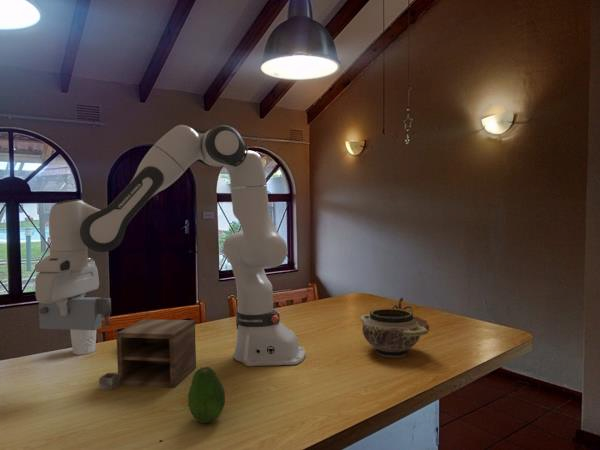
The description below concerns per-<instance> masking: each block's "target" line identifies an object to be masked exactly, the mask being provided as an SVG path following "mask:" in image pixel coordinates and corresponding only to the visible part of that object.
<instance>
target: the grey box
mask: <svg viewBox="0 0 600 450" xmlns="http://www.w3.org/2000/svg"><path fill="white" fill-rule="evenodd" d="M111 299H112V298H111V297H103V298H101V297H100V296H99V297H97V296H93V297H92V296H89V297H88V296H84V297H74V296H73V297H70V298H67V302H66V305H67V307H68V308H70V314H69V315H66V316H61V314H60V308H59V307H58V305H57V303H56V302H53V303H39V302H38V314H39V315H38V316H39V317H38V318H39V329H42V330H43V329H45V330H46V329H48V330H96V331H97V330H99V329H101V328H102V327H103V326H102V325H103V323H102V322H103V321H102V316H104V319H103V320H104V327H107V326H110V315H112V300H111Z"/></svg>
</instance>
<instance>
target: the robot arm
mask: <svg viewBox="0 0 600 450" xmlns="http://www.w3.org/2000/svg"><path fill="white" fill-rule="evenodd" d="M196 161H197V162H199V163H201V164H203V165H205V166H207V167H210V168H219V167H220V168H221V167H224V168H225V169H226V170H227V172H228V175H229V178H230V195H231V205H232V213H233V215H234V217H235V218H236V219H237V221H238V222H239V224H240V225H239V226H240V228H241V230H240V231H236V232H235V233H231V234H230V235H228V236H227V237H226V238H225V240H224V242H223V253H224V256H225V257H226V259H227V260H228V262H229V263H230V267H231V269H232V272H233V273H232V274H233V276H234V282H235V285H236V299H237V301H236V302H237V311H236V315H235V325H236V331H237V333H236V343H235V349H234V352H233V356H232V357H233V359H235V360H236V361H237V362H240V363H242V364H243V365H244V366H247V367H253V366H254V367H256V366H263V367H264V366H284V365H287V366H288V365H290V366H291V365H297V364H300V363H301V362H303V360H305V357H306V349H305V348H304V347H302V346H299V341H298V337H297V335H296V333H295V332H294V331H293V330H291V329H290V328H288V326H285V324H283V323H282V322H280V321H281V320H280V319H281V317H280V316H281V312H280V311H279V310H278V311H276V310H275V309H274V296H273V295H274V292H273V291H274V290H273V289H274V288H273V284H272V283H271V281H270V279H269V278H268V277H267V274H266V271H265V269H272V268H277V267H280V266H281V265H282V264H283V263H284V261H285V260H286V258H287V256H288V246H287V242H286V241H285V239H284V238H283V237H282V236H281V235H280V234H279V232H278V231H277V229H276V227H275V224H274V222H273V218H272V215H271V211H270V207H269V206H270V205H269V197H268V196H269V195H268V186H267V175H266V170H265V166H264V162H263V159H262V156H261V155H260V154H259V153H258V152H256V151H254V150H251V149H250V150H249V149H248V146H247V144H245V142H244V139H243V138H242V136H241V134H240V133H239V132H238V130H236V129H235V128H234V127H231V126H229V125H224V124H223V125H222V124H221V125H217V126H215V127H213V128H211V129H209V130H208V131H205V133H199V132H197V131H196V130H195V129H193V128H192V127H190V126H188V125H185V124H178V125H176V126H174V127H173V128H172V129H170V130H169V131H168V132H166V133H165V134H164V135H163V136H161V137H160V139H158V140H157V141H156V142H155V143H154V145H153V146H152V147H150V149H149V150H148V151H147V153H146V154H145V155H144V157H143V158H142V160H141V161H140V163H139V165H138V167H137V169H136V171H135V174H134V176H133V178H132V179H131V181H130V182H129V184H128V185H127V186H126V187H125V188H124V189H123V190H122V191H121V192H120V193H119V194H118V195H117V196H116V197H115V199H113V201H112V202H110V203H109V205H107V206H106V207H104V208H103V209H99V208H97V207H95V206H93V205H90V204H88V203H87V202H85V201H84V200H82V199H69V200H63V201H62V200H61V201H59V202H56V203H55V204H53V206H51V208H50V211H49V219H48V235H49V238H50V248H49V255H47V256H46V257H45V258H43V259H42V260H40V261H38V262H37V263H36V264H35V265H34V270H35V273H37V275H36V277H35V280H34V281H35V282H34V283H35V284H34V286H35V287H34V289H35V290H34V292H35V299H36V300H37V302H38V304H39V303H53V302H56V303H57V305H58V307H59V308H60V314H61V316H66V315H69V314H70V308H68V307H67V305H66V302H67V298H70V297H85V294H86V293H89V292H92V291H95V290H98V289H99V286H100V280H99V279H100V278H99V271H98V267H97V265H96V261H95V260H94V259H93V258H92V257H89V254H88V252H89V251H88V250H89V249H90V250H92V251H93V252H97V253H107V252H110V251H113V250H115V249H116V248H117V247H119V246H120V245H121V244H122V241H123V239H124V238H125V233H126V230H127V227H128V226H129V223H130V222H131V221H132V219H133V218H134V217H135V216H136V215H137V214H138V212H140V210H141V209H142V208H143V207H144V206H145V204H146V203H147V202H148V201H149V200H150V199H151V198H153V197H154V196H155V195H156V194H158V193H160V192H161V191H164V190H165V189H167V188H168V187H170V186H172V185H173V184H174V183H175V182H176V181H177V180H178V179H180V178H181V176H182V175H183V174H184V173H185V172H186V171H187V169H188V168H190V166H191V165H192V164H194V162H196Z"/></svg>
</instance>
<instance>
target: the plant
mask: <svg viewBox="0 0 600 450" xmlns="http://www.w3.org/2000/svg"><path fill="white" fill-rule="evenodd" d="M402 302H403V303H404V298H403V297H400V298H399V300H398V305H396V304H395V305H393V306H392V307H391V308H395V309H405V310H407V309H409V311H411V312H414V310H415V308H414V307H413V306H411V305H408V306H405V307H402ZM413 318H414V319H415V320H416V321H417V322H418V323H419V325H420V327H425V328H426V329H427V327H428V321H427V319H423V318H421V317H418V316H413ZM427 330H428V329H427Z"/></svg>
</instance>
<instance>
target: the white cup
mask: <svg viewBox="0 0 600 450" xmlns="http://www.w3.org/2000/svg"><path fill="white" fill-rule="evenodd" d="M70 339H71V340H70V341H71V345H72V354H73V355H77V356H80V355H81V356H83V355H89V354H91V353H94V352H95V351H96V347H97V346H96V345H97V343H96V342H97V330H70Z"/></svg>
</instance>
